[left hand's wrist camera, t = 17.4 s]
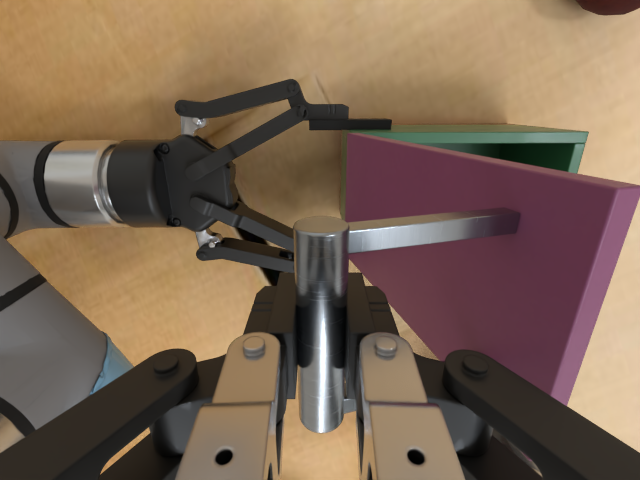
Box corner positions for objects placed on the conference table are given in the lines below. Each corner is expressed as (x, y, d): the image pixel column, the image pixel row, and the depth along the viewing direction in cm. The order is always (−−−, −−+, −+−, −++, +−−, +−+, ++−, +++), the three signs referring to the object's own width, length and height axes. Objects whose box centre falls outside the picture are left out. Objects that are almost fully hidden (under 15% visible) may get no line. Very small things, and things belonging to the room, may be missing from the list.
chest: (508, 123, 35) (589, 131, 25) (491, 210, 38) (557, 249, 28) (341, 124, 35) (352, 132, 24) (339, 211, 38) (348, 250, 28)
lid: (645, 185, 8) (325, 214, 6) (550, 455, 12) (323, 533, 9) (358, 132, 24) (243, 135, 22) (354, 252, 28) (253, 264, 25)
